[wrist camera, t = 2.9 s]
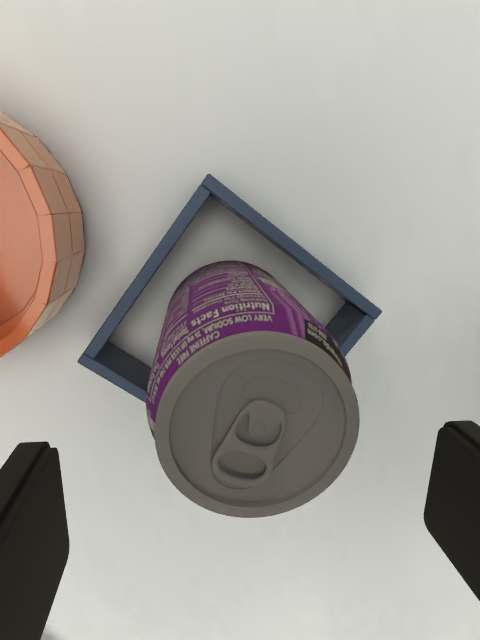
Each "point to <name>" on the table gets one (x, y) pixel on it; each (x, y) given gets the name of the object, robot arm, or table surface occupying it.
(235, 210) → the blue square frame
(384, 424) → the table surface
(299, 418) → the beverage can
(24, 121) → the table surface
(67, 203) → the bowl
